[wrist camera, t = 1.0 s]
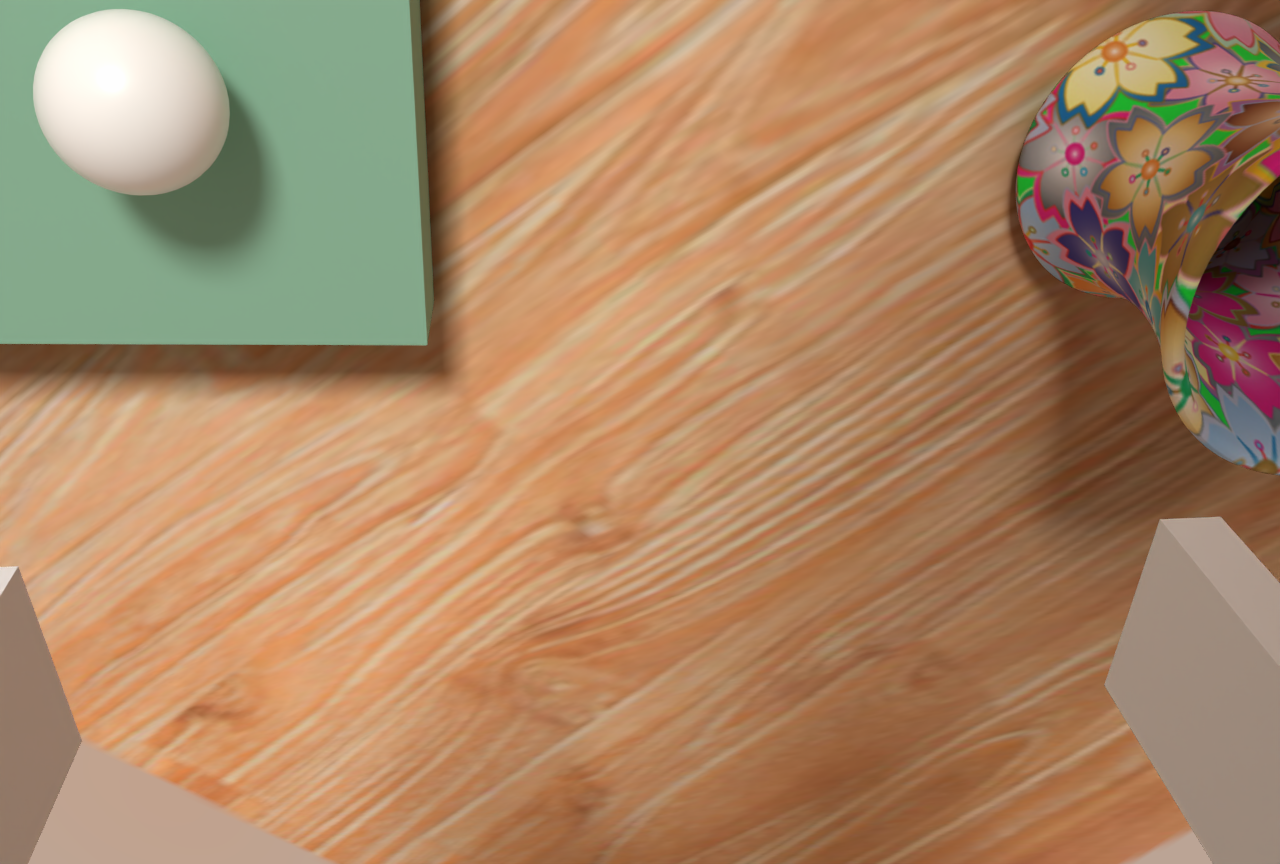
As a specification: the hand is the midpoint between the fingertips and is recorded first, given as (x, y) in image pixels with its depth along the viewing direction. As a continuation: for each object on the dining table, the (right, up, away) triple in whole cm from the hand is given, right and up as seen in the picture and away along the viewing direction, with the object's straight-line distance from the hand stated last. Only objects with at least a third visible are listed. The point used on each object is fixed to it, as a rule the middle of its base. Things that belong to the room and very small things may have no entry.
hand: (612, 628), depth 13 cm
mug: (+16, +12, +20) cm, 28 cm away
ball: (-11, +10, +12) cm, 19 cm away
